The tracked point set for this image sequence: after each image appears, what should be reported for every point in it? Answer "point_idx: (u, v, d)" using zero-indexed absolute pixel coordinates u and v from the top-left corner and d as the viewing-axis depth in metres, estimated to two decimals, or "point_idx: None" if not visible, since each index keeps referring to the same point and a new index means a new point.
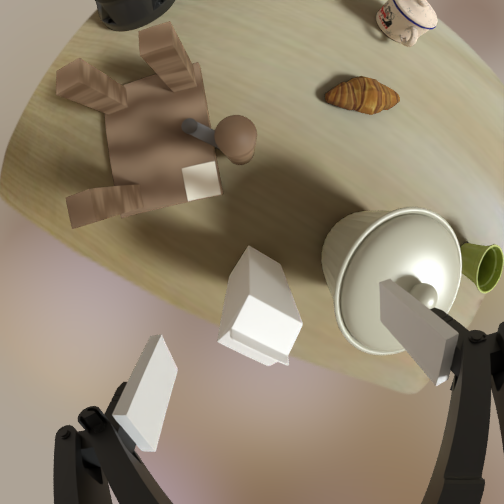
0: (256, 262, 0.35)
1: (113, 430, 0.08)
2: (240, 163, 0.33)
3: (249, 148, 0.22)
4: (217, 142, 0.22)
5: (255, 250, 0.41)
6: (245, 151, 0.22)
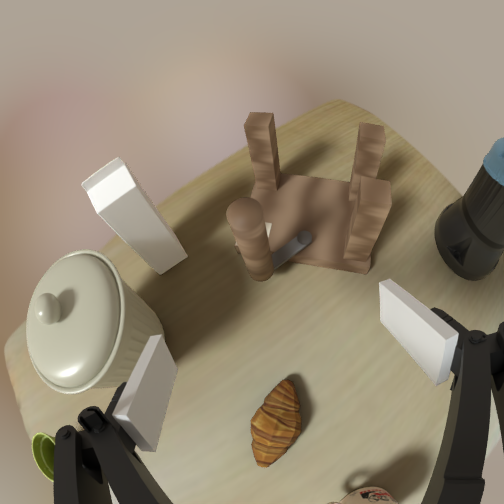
0: (165, 239, 0.40)
1: (113, 430, 0.08)
2: None
3: (228, 217, 0.27)
4: (245, 198, 0.27)
5: (180, 257, 0.45)
6: (227, 214, 0.27)
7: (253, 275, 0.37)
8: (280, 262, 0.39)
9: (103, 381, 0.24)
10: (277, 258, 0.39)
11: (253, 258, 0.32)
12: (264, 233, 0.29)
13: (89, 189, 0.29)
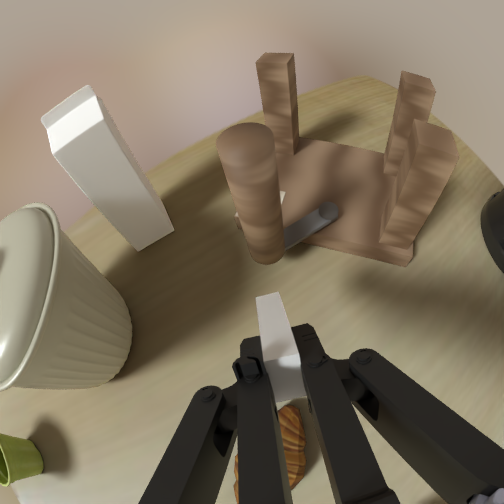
0: (143, 201, 0.29)
1: (267, 384, 0.09)
2: None
3: (218, 146, 0.16)
4: (247, 123, 0.17)
5: (164, 230, 0.34)
6: (217, 142, 0.16)
7: (255, 254, 0.26)
8: (294, 240, 0.28)
9: (29, 381, 0.14)
10: (290, 235, 0.28)
11: (256, 224, 0.21)
12: (275, 180, 0.18)
13: (49, 126, 0.18)
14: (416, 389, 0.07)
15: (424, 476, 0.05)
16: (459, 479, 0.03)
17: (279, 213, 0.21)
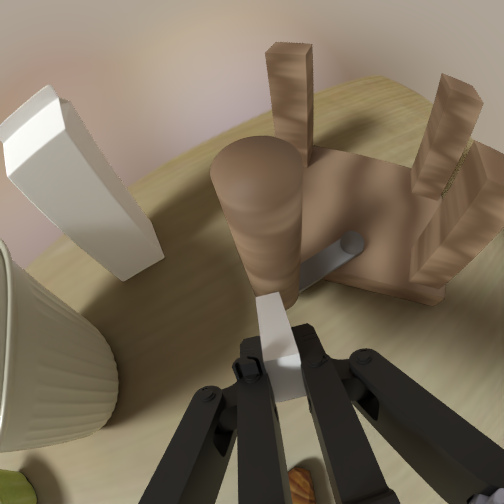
0: (124, 228, 0.23)
1: (267, 384, 0.09)
2: None
3: (213, 175, 0.10)
4: (260, 137, 0.11)
5: (152, 258, 0.29)
6: (213, 168, 0.10)
7: None
8: (310, 281, 0.22)
9: (7, 451, 0.08)
10: (306, 274, 0.23)
11: (267, 277, 0.15)
12: (298, 225, 0.12)
13: (6, 139, 0.12)
14: (415, 389, 0.07)
15: (423, 476, 0.05)
16: (459, 479, 0.03)
17: (298, 261, 0.16)
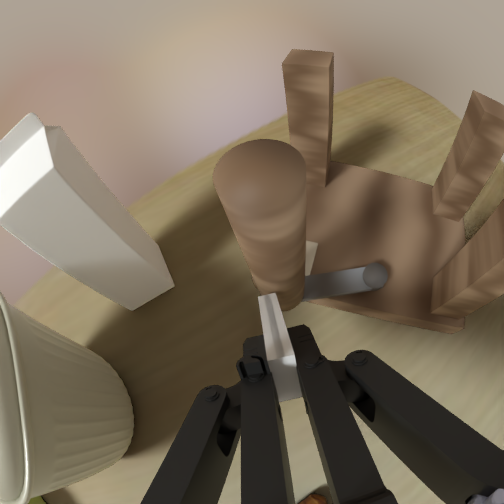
0: (131, 263, 0.22)
1: (271, 383, 0.09)
2: None
3: (217, 167, 0.10)
4: (280, 143, 0.11)
5: (161, 288, 0.27)
6: (221, 160, 0.11)
7: (261, 295, 0.21)
8: (317, 295, 0.22)
9: (31, 497, 0.07)
10: (316, 286, 0.22)
11: (258, 275, 0.16)
12: (291, 241, 0.12)
13: None
14: (412, 390, 0.07)
15: (421, 477, 0.05)
16: (457, 480, 0.03)
17: (295, 273, 0.15)
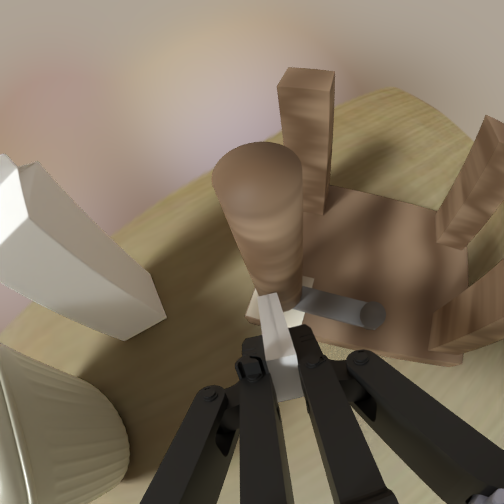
0: (120, 301, 0.20)
1: (269, 383, 0.09)
2: None
3: (224, 158, 0.11)
4: (289, 152, 0.11)
5: (153, 320, 0.26)
6: (231, 152, 0.11)
7: None
8: (309, 309, 0.22)
9: None
10: (313, 301, 0.22)
11: (247, 268, 0.16)
12: (273, 247, 0.12)
13: None
14: (413, 390, 0.07)
15: (422, 477, 0.05)
16: (458, 480, 0.03)
17: (281, 279, 0.16)
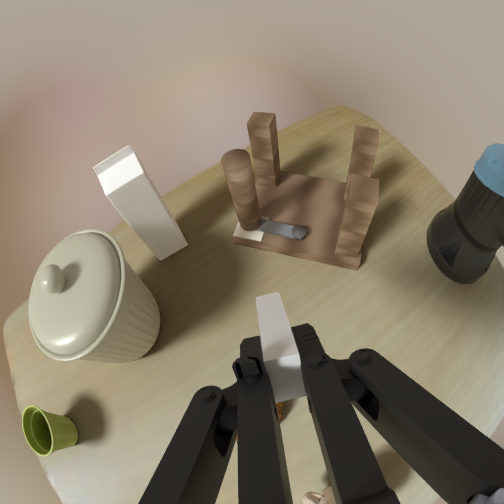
0: (167, 226, 0.42)
1: (267, 384, 0.09)
2: None
3: (225, 154, 0.33)
4: (246, 152, 0.33)
5: (180, 245, 0.47)
6: (227, 152, 0.33)
7: None
8: (265, 229, 0.44)
9: (98, 351, 0.26)
10: (267, 225, 0.44)
11: (233, 199, 0.38)
12: (241, 184, 0.34)
13: (100, 173, 0.31)
14: (415, 389, 0.07)
15: (424, 476, 0.05)
16: (459, 479, 0.03)
17: (246, 203, 0.38)
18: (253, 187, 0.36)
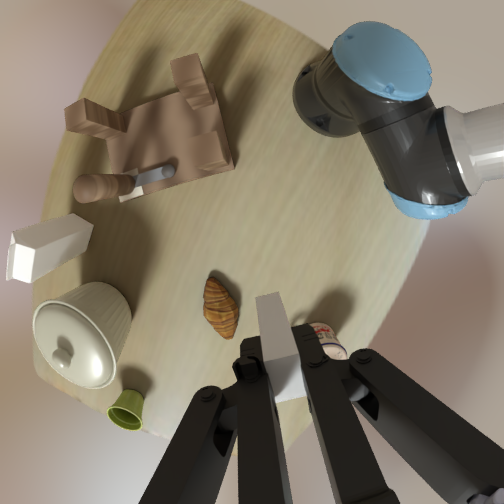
0: (73, 238, 0.40)
1: (267, 384, 0.09)
2: None
3: (73, 189, 0.28)
4: (87, 176, 0.28)
5: (90, 231, 0.46)
6: (74, 186, 0.28)
7: None
8: (141, 184, 0.42)
9: None
10: (140, 180, 0.42)
11: None
12: (103, 196, 0.32)
13: (12, 275, 0.28)
14: (415, 389, 0.07)
15: (424, 476, 0.05)
16: (459, 479, 0.03)
17: (115, 194, 0.36)
18: (111, 184, 0.33)
